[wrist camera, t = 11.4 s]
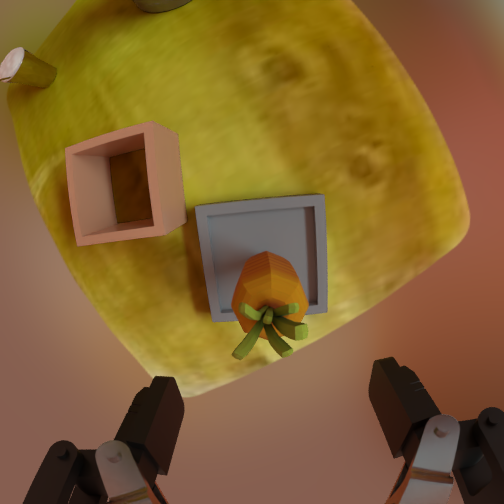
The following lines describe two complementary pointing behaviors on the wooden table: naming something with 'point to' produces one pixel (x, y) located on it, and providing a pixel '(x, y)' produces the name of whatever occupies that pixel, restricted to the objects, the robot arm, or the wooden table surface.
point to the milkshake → (26, 69)
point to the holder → (100, 185)
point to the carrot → (269, 304)
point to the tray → (263, 245)
